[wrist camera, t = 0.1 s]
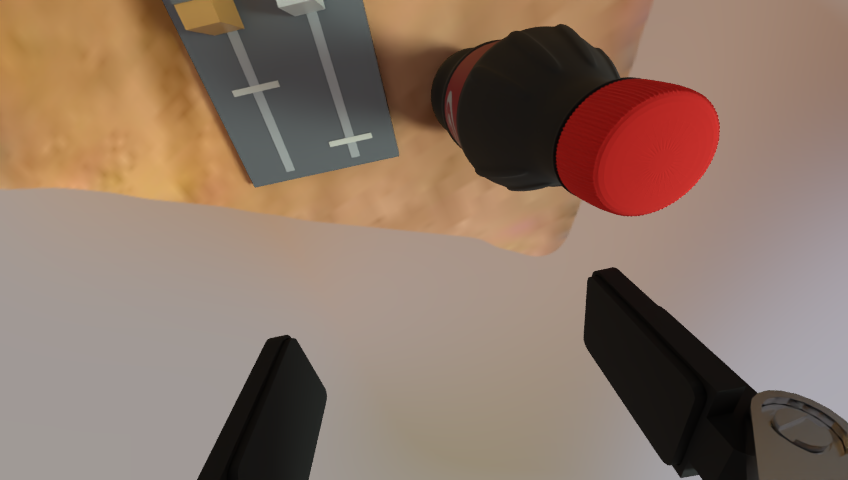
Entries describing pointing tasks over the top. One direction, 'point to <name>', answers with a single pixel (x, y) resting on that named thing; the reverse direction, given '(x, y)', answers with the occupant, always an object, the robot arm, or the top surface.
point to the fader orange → (208, 16)
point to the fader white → (300, 6)
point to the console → (295, 88)
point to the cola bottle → (573, 122)
